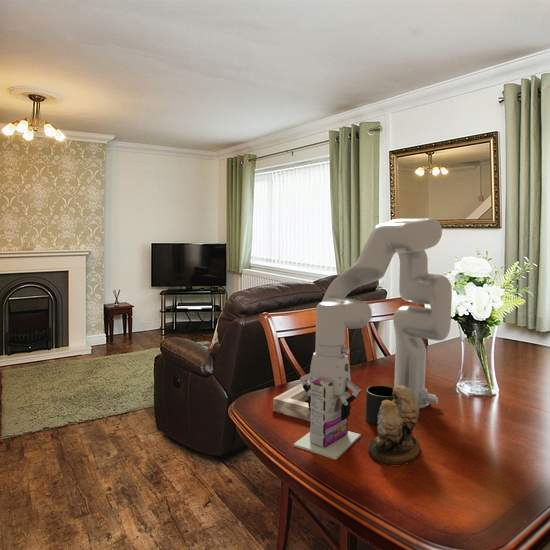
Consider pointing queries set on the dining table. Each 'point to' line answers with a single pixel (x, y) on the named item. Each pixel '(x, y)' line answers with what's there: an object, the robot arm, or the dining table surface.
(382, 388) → the mug
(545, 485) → the dining table surface
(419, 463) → the dining table surface
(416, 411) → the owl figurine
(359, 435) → the mat
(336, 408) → the candy bar box
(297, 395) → the board
